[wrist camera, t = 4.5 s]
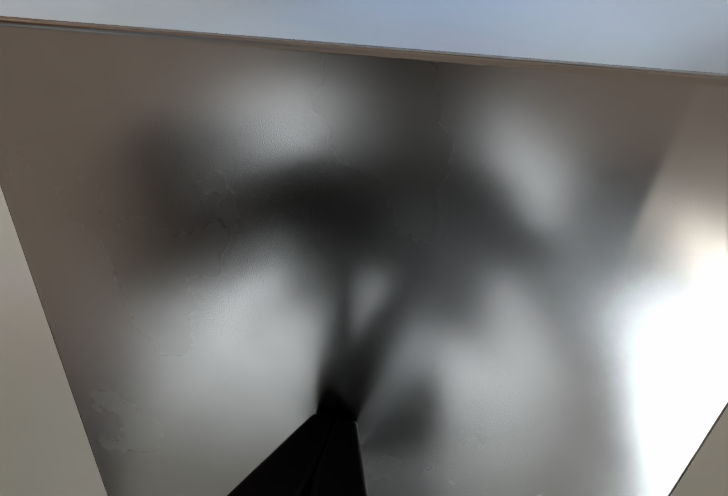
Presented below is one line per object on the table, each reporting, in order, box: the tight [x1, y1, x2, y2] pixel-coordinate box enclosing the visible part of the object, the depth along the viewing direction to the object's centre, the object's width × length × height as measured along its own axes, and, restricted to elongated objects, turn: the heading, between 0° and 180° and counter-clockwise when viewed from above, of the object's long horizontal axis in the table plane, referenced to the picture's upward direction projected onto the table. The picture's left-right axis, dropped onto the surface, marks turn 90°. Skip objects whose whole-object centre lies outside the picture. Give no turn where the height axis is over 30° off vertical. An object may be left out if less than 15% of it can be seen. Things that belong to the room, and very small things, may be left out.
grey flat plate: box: [0, 16, 728, 496], centre depth 8 cm, size 13×12×1 cm
